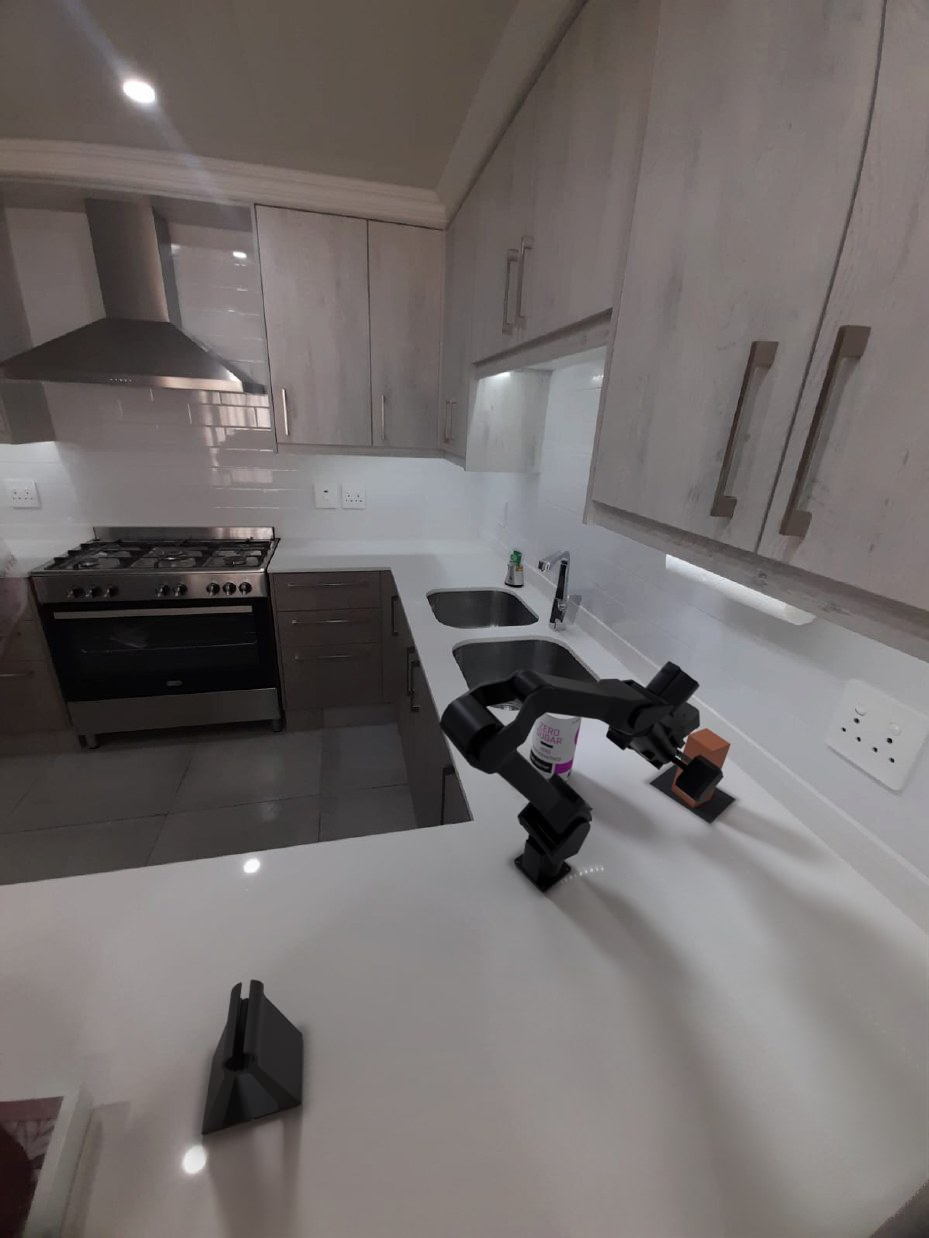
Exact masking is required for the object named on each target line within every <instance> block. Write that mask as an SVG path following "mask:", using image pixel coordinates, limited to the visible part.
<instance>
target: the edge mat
mask: <svg viewBox="0 0 929 1238" xmlns="http://www.w3.org/2000/svg"><path fill="white" fill-rule="evenodd" d="M677 770H678V767H677V766H676V765H674V764H673V765H672V766H670V767H669V768H668V769H665V771H664V772H661V773H660V774H659V775H658V776H656V778H654V779H653V780H651V781H650V782H649V784H650V785H652V786H653V787H654V788H656V789H657V790H659V791H660V792H662V793H663V794H665V795H666V796H667V797H669V798H671V799H672V800H674V801H675V802H677V803H679V804H680V805H681V806H683V807H684V808H686V809H687V810H689V811H691V812H692V813H693V814H695V815H696V816H698V817H700V818H701V819H703V820H704V821H705V822H707V823H708V824H711V823H713V821H714V820H715V819H717V818H718V816H720V814H721V813H723V812H724V811H725V810H726V809H727V808H728V807H729V806H730V805H731V804H732V803H733V802H734V801H735V800H736V798H735V797H733V796H732V795H730V794H729V793H726V792H725V791H724V790H722V789H720V788H718V787H717V786H716V787H715V789H714V792H713V794H712V797H711V800H709V801H706V802H704V803H702V804H700V805H698V806H696V807H694V808H693V807H691V806H690V805H689V804H688V803H687V802H685V801H684V800H683V799H682V798H681V797H679V796H678V795H677V794H676V793H675V792H673V791H672V790H671V789H672V786H673V782H674V779H675V776H676V773H677Z"/></svg>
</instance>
